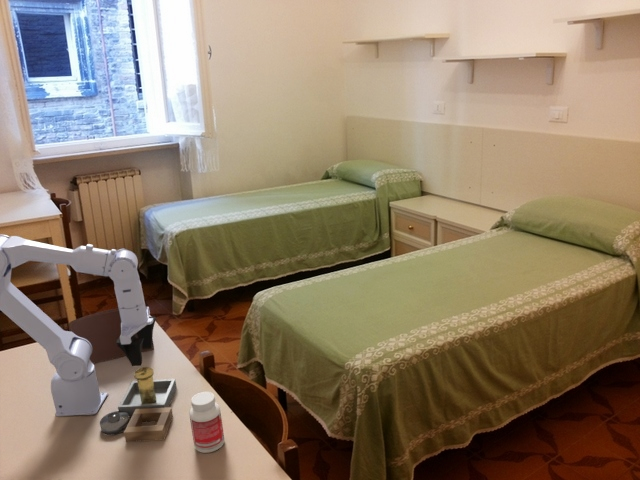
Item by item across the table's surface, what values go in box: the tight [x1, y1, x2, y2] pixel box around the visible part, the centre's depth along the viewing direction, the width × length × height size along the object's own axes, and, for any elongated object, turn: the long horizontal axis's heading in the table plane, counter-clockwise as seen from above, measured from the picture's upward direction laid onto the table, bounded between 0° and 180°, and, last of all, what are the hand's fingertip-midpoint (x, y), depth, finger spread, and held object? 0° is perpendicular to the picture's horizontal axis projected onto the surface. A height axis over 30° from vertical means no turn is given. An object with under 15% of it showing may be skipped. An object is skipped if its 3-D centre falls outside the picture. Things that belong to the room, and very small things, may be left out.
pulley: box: [99, 410, 130, 436], centre depth 124 cm, size 6×6×3 cm
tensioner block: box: [123, 406, 174, 443], centre depth 122 cm, size 8×8×2 cm
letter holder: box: [68, 308, 155, 364], centre depth 154 cm, size 10×20×14 cm, turn 113°
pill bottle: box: [188, 391, 225, 454], centre depth 115 cm, size 6×6×11 cm
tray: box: [117, 378, 177, 418], centre depth 132 cm, size 10×10×3 cm
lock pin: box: [133, 366, 157, 404], centre depth 130 cm, size 4×4×8 cm
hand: (142, 356), depth 132 cm, fingers open, 7 cm apart
